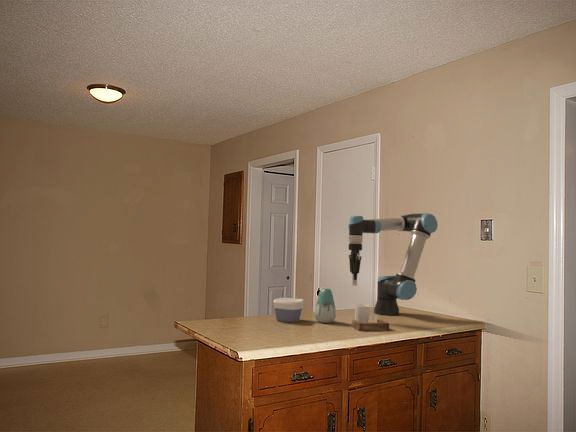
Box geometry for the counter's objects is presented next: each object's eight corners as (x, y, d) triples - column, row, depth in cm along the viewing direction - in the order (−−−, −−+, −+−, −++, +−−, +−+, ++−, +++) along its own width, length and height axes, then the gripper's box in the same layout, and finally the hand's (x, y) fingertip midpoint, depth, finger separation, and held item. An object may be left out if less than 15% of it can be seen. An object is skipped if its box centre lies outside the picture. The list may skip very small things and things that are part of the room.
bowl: (269, 321, 259) (270, 300, 260) (280, 316, 273) (281, 297, 274) (296, 324, 253) (296, 302, 254) (306, 319, 268) (306, 299, 268)
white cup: (360, 326, 254) (360, 307, 254) (351, 323, 261) (351, 304, 261) (372, 325, 257) (372, 306, 258) (363, 322, 264) (363, 304, 265)
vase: (311, 322, 259) (312, 289, 259) (317, 319, 270) (318, 286, 270) (332, 324, 255) (333, 290, 255) (338, 321, 266) (339, 288, 266)
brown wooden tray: (352, 326, 251) (352, 320, 251) (380, 326, 255) (380, 319, 255) (359, 330, 242) (359, 323, 242) (389, 330, 246) (389, 323, 246)
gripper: (344, 242, 277) (343, 284, 277) (353, 243, 265) (352, 286, 264) (357, 243, 279) (355, 284, 279) (366, 243, 267) (365, 286, 266)
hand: (354, 285), depth 271 cm, fingers closed
